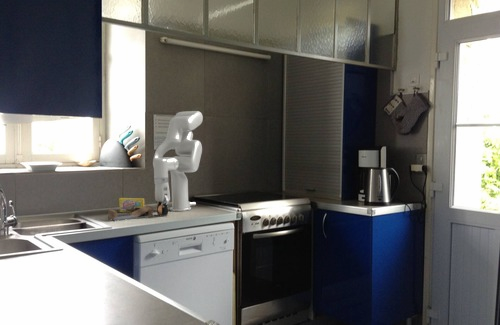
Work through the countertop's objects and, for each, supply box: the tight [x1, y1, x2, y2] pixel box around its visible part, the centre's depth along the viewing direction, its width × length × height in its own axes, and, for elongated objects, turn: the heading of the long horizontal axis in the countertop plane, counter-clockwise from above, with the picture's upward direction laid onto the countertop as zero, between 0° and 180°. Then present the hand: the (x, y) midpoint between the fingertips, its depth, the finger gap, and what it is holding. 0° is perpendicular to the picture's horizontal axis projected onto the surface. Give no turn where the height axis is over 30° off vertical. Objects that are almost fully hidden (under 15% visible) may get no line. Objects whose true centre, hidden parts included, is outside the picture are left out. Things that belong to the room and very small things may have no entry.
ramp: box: [107, 204, 154, 221], centre depth 251 cm, size 22×9×5 cm, turn 126°
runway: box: [108, 212, 155, 222], centre depth 252 cm, size 22×9×2 cm, turn 126°
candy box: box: [118, 197, 146, 213], centre depth 270 cm, size 16×2×8 cm, turn 71°
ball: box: [158, 205, 162, 214], centre depth 256 cm, size 5×5×5 cm
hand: (162, 213), depth 256 cm, fingers closed on cradle, 5 cm apart
